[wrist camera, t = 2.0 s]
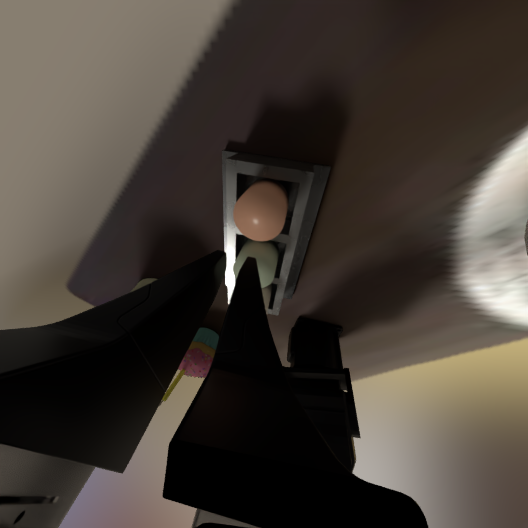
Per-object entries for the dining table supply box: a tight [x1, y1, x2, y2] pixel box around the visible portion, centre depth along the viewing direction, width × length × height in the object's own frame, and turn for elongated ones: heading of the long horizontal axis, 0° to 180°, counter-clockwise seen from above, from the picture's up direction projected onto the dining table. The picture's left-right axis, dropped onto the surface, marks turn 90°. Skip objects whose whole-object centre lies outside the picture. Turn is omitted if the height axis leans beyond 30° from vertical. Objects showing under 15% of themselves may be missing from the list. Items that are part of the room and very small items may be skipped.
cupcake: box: [159, 328, 219, 406], centre depth 31 cm, size 9×8×12 cm
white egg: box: [262, 284, 272, 314], centre depth 20 cm, size 4×4×4 cm
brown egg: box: [233, 178, 289, 241], centre depth 14 cm, size 4×4×4 cm
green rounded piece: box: [233, 238, 279, 288], centre depth 17 cm, size 4×4×4 cm
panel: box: [222, 150, 331, 315], centre depth 19 cm, size 9×16×4 cm, turn 173°
